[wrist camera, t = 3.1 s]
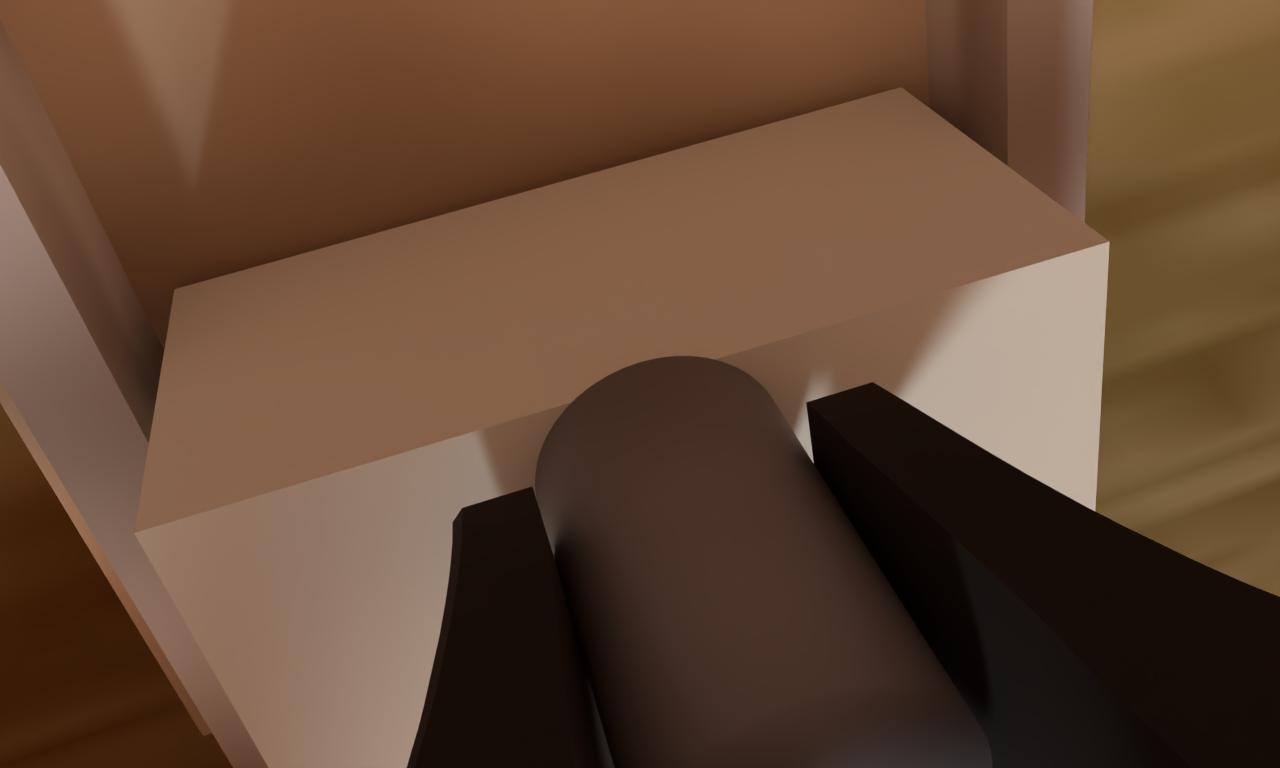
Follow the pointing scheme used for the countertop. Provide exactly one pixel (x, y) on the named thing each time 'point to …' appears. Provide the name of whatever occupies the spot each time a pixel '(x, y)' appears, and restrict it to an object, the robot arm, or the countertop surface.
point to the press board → (397, 168)
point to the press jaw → (622, 437)
